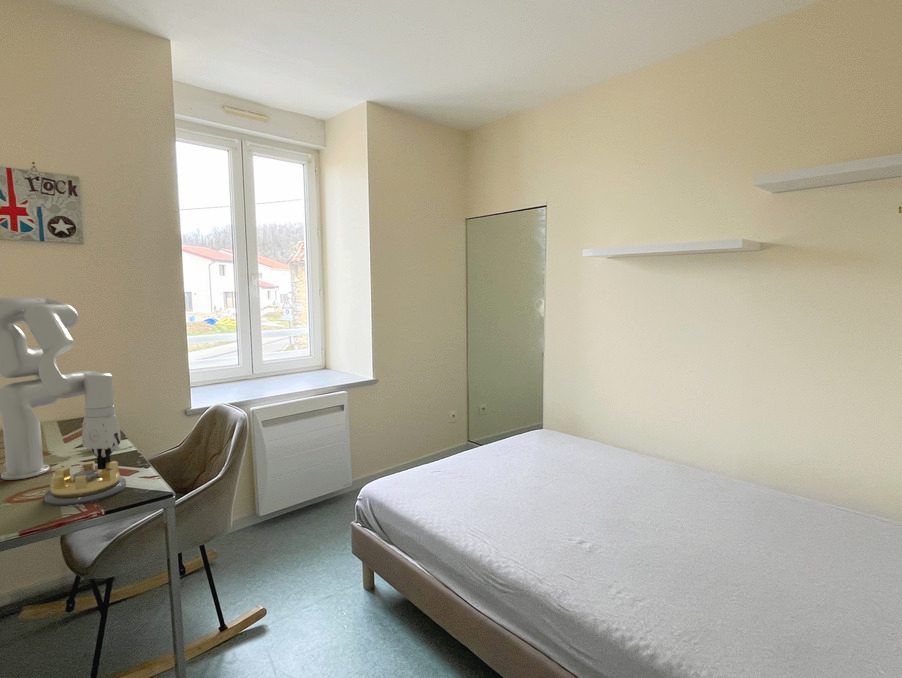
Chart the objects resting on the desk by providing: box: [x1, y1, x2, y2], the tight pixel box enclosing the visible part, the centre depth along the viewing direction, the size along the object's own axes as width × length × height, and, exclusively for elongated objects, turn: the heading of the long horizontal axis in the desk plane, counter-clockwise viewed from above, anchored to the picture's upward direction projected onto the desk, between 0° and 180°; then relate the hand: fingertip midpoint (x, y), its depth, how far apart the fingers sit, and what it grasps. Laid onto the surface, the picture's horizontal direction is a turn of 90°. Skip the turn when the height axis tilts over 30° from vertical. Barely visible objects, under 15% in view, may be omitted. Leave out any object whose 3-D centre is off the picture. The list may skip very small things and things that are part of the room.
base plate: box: [44, 476, 127, 507], centre depth 150 cm, size 20×20×2 cm
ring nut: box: [49, 460, 121, 498], centre depth 150 cm, size 17×17×6 cm
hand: (104, 468), depth 157 cm, fingers closed
